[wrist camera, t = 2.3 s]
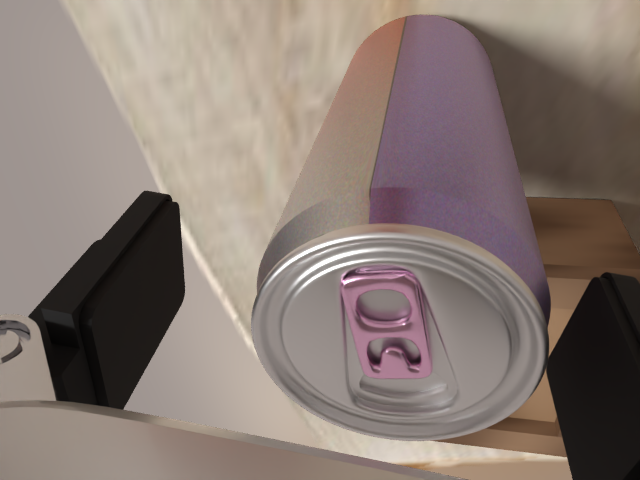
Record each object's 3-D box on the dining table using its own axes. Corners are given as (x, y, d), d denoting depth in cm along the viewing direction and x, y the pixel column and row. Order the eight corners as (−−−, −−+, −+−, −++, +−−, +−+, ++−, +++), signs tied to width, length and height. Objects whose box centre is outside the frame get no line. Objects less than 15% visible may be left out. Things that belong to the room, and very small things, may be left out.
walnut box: (611, 199, 23) (654, 283, 18) (562, 366, 29) (584, 459, 25) (365, 192, 25) (349, 265, 21) (369, 348, 31) (357, 431, 27)
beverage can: (488, -5, 19) (567, 206, 7) (495, 141, 22) (558, 452, 11) (334, 26, 21) (196, 239, 9) (361, 158, 24) (285, 444, 12)
